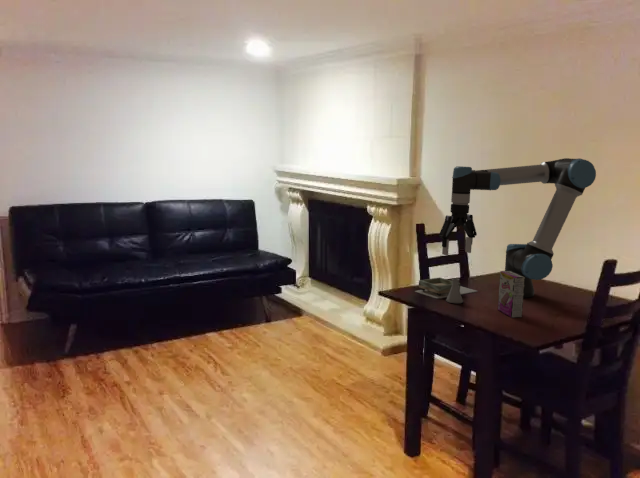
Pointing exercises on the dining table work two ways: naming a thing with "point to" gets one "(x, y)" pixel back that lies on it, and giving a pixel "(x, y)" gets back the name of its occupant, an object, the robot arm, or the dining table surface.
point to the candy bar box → (511, 294)
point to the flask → (454, 292)
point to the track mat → (443, 295)
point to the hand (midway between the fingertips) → (456, 253)
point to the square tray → (436, 285)
